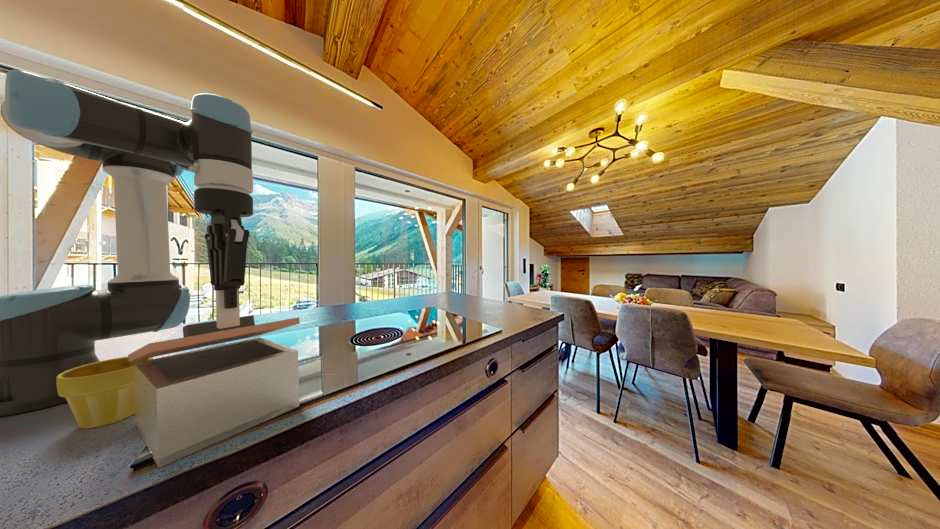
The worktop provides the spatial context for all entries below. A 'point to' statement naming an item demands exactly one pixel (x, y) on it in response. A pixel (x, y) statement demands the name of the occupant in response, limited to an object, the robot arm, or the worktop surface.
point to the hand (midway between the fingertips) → (228, 326)
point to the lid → (209, 336)
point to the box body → (212, 394)
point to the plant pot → (100, 391)
